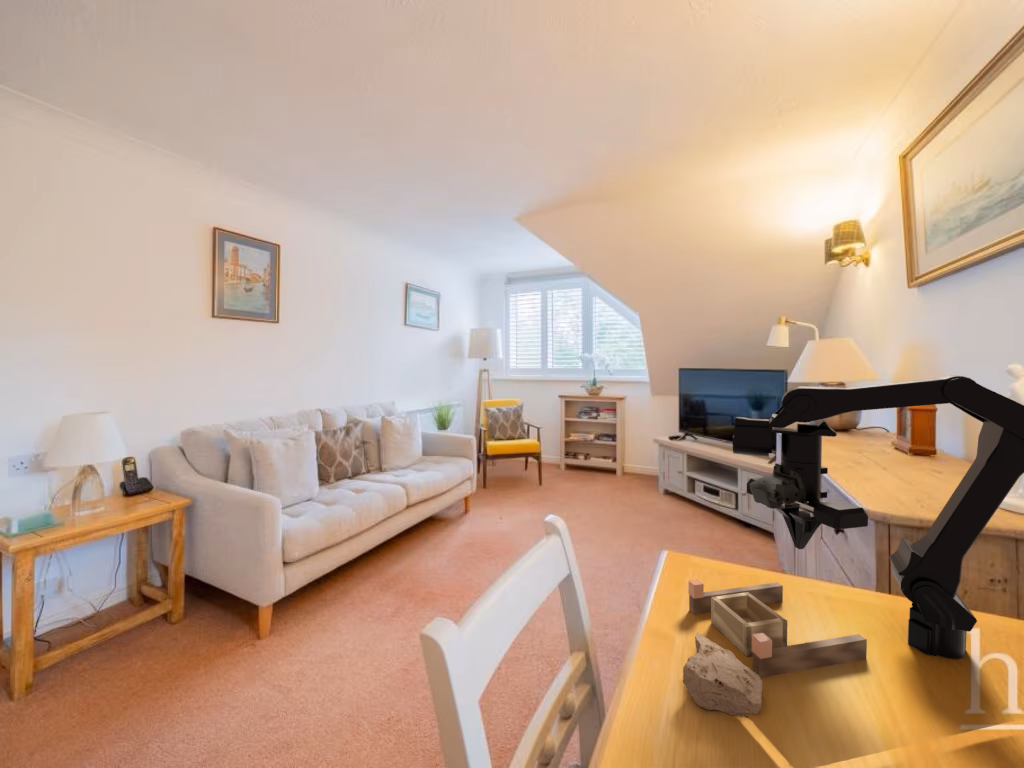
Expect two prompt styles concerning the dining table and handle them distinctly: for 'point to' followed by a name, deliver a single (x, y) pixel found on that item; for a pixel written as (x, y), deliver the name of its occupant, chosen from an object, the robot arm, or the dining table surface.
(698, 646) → the stone
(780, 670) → the bay
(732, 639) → the box
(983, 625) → the dining table surface
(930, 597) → the robot arm
